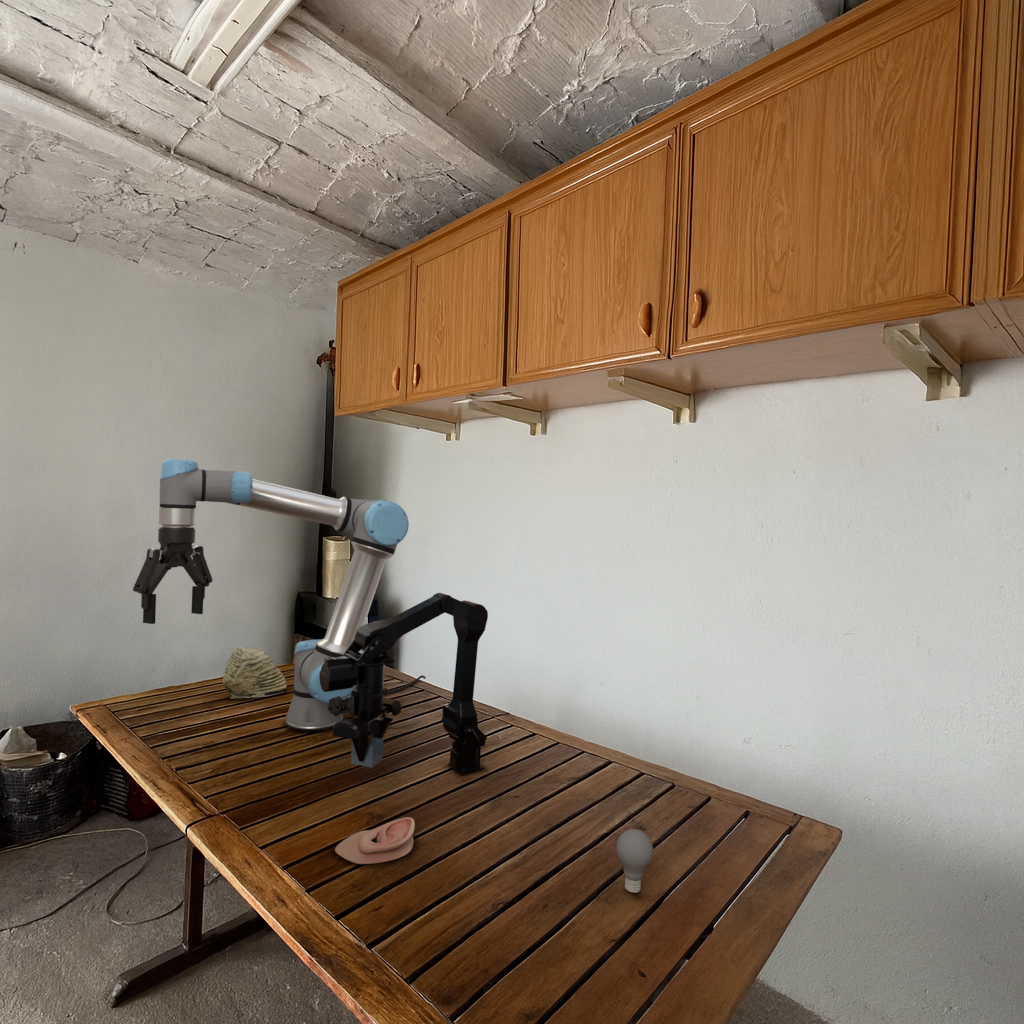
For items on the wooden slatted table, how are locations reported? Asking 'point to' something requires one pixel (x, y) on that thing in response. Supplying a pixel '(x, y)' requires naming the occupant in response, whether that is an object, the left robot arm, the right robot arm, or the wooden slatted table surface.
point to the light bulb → (634, 857)
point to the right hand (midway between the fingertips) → (367, 756)
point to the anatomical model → (379, 843)
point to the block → (369, 753)
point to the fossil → (252, 674)
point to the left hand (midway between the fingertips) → (174, 618)
